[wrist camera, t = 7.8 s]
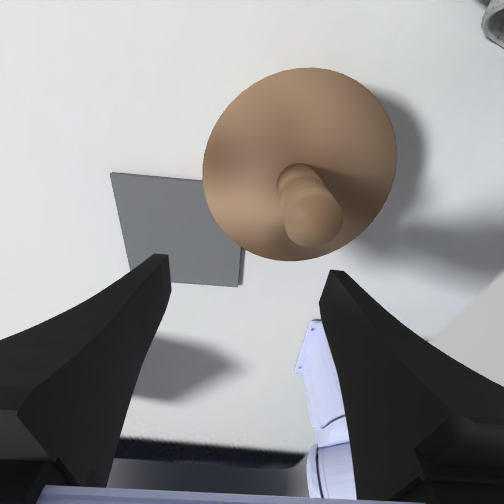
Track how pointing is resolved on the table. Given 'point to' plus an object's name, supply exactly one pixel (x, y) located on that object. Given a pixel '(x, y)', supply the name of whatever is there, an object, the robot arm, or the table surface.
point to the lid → (299, 164)
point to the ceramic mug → (494, 21)
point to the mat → (174, 229)
